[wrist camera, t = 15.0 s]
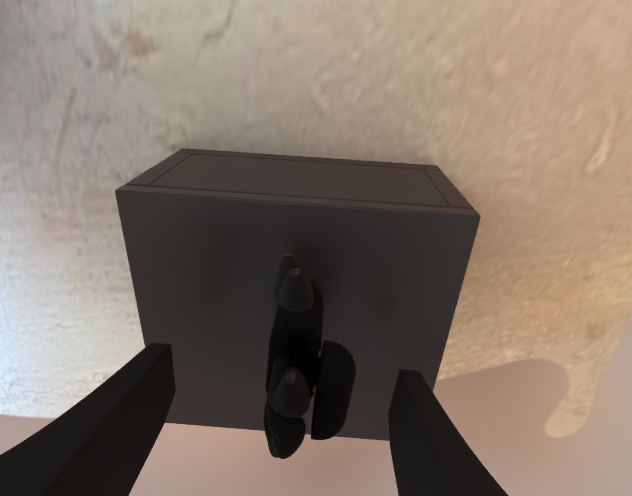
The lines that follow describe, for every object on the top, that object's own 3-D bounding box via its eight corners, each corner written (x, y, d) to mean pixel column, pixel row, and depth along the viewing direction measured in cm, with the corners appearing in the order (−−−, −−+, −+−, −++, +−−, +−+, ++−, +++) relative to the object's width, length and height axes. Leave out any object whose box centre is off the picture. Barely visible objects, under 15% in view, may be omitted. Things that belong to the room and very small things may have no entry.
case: (401, 340, 22) (419, 420, 17) (199, 325, 22) (162, 399, 17) (437, 165, 17) (475, 208, 13) (181, 148, 17) (123, 183, 13)
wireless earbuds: (286, 219, 12) (258, 316, 8) (364, 229, 12) (380, 331, 8) (272, 377, 16) (247, 510, 11) (334, 385, 16) (333, 519, 11)
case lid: (416, 432, 18) (418, 444, 17) (164, 411, 18) (159, 422, 17) (475, 208, 12) (481, 215, 12) (122, 184, 13) (113, 190, 12)
